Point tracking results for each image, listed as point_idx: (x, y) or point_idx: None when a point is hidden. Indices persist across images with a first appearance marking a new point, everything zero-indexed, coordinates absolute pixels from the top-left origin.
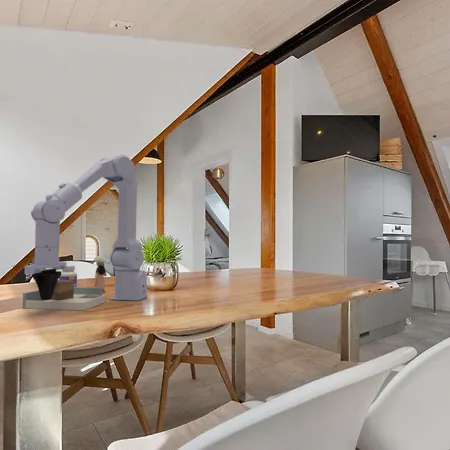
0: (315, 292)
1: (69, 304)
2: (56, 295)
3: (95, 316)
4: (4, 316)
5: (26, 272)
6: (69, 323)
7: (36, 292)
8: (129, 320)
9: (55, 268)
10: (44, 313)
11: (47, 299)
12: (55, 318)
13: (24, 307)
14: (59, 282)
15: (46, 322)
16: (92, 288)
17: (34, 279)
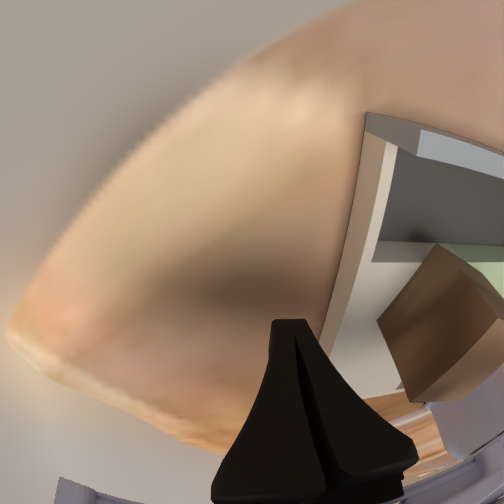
0: (406, 471)
1: None
2: (394, 328)
3: (224, 419)
4: (121, 166)
5: (65, 490)
6: (134, 400)
7: (496, 175)
8: (205, 449)
9: (399, 501)
10: (234, 304)
11: (269, 350)
12: (166, 366)
13: (366, 125)
14: (416, 400)
15: (114, 364)
16: None
17: (236, 439)
